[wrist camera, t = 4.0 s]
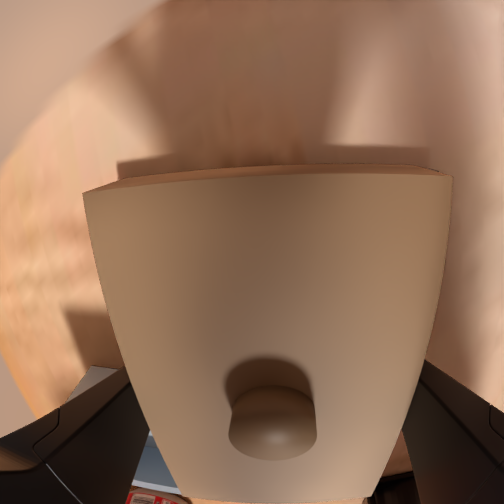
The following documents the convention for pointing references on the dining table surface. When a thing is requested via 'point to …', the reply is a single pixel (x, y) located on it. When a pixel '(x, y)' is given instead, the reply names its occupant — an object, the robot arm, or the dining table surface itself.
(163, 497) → the soda can
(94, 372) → the dish
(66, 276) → the dining table surface
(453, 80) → the dining table surface
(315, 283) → the lid
